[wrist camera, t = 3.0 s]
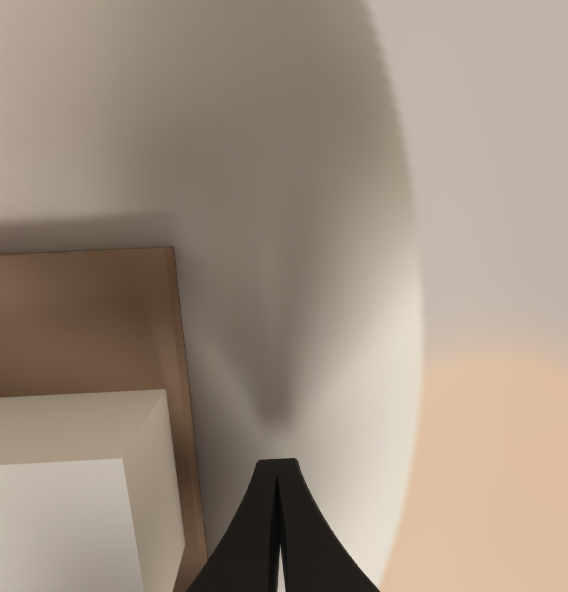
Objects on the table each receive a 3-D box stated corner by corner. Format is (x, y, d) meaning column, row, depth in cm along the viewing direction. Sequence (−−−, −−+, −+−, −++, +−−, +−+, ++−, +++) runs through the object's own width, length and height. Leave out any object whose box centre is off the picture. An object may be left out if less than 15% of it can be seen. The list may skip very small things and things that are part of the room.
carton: (185, 544, 13) (154, 659, 10) (-54, 558, 13) (-172, 681, 10) (165, 389, 12) (121, 459, 8) (-103, 402, 12) (-263, 480, 8)
